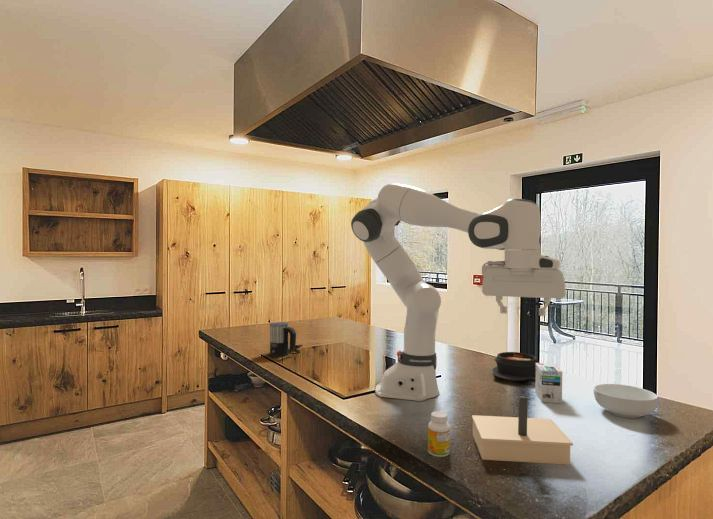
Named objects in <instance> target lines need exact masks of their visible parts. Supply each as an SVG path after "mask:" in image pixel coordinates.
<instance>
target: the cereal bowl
mask: <svg viewBox="0 0 713 519" xmlns="http://www.w3.org/2000/svg"><path fill="white" fill-rule="evenodd" d="M593 397H594V400H595V401H596V403H597V404H598V405H599V406H600V407H602V409H604V410H606V411H609V412H610V414H612V415H615V416H617V417H620V418H625V419H627V418H628V419H639V418H640V417H641V416H642V417H643V416H648V415H650V414H652V413H654V412H655V410H656V409H657V407H658V403H659V396H658V395H657V394H656V393H654V392H653V391H651V390H648V389H644V388H642V387H638V386H637V387H636V386H632V385H627V384H616V383H602V384H597V385H595V386H594V387H593Z"/></svg>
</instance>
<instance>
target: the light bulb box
mask: <svg viewBox="0 0 713 519" xmlns="http://www.w3.org/2000/svg"><path fill="white" fill-rule="evenodd" d="M534 393H535V394H536V395H537V396H536V397H538V398H539V400H540V402H542V403H552V404H563V371H562V370H561V369H560V368H559V367H557V365H556V364H555V363H543V362H542V363H541V362H539V363H536V378H535V392H534Z"/></svg>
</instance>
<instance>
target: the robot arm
mask: <svg viewBox="0 0 713 519" xmlns="http://www.w3.org/2000/svg"><path fill="white" fill-rule="evenodd" d="M541 221H542V220H541V212H540V207H539V206H538V204H537V203H536V202H534V201H533V200H529V199H525V198H524V199H523V198H510V199H507V200H506V201H505V202H504V203H503V204H501V205H500V206H498V207H496V208H494V209H492V210H489V211H487V212H486V211H485V212H484V213H481V214H479V213H476V212H473V211H470V210H466V209H462V208H460V207H457V206H455V205H453V204H451V203H449V202H447V201H445V200H444V199H442V198H441V197H438V196H436V195H435V194H433V193H431V192H428V191H426V190H424V189H422V188H419V187H415V186H411V185H407V184H401V183H387V184H386V185H384V186H383V187H382V188H381V189H380V191H379V192H378V195H377V197H376V198H374V199H373V200H372V201H370V202H368V204H367V205H366V206H365V207H363V208H362V209H361V210H359V211H358V212H356V214H355V215H354V216H353V217H352V219H351V221H350V225H351V226H350V227H351V230H352V232H353V235H354V236H355V237H356V238H357V239H358V240H360V241H361V242H363V244H364V246H365V248H366V251H367V252H368V253H369V256H370V258H371V259H372V261H373V262H374V263H375V264H376V266H377V267H378V268H379V270H380V271H381V273H382V275H384V277H385V278H386V280H387V281H388V282H389V285H391V287H392V289H393V291H394V292H395V293H396V295H397V296H398V298H399V299H400V301H401V303H402V304H403V305H404V307H405V308H406V318H405V322H404V323H405V324H404V328H403V350H400V349H398V350H397V351H396V356H397V362H396V363H395V364H393V365H392V366H390V367H388V368H387V369H386V370H385V371H384V373H383V375H382V378H381V382H379V383H377V384H376V386H375V394H376V395H377V396H378V397H380V398H381V397H382V398H390V399H400V400H408V401H418V402H422V401H425V400H427V399H431V398H436V397H437V396H439V395H440V390H439V386H438V381H437V371H436V370H437V363H438V362H437V361H438V360H437V357H438V356H437V353H436V332H437V331H436V329H437V324H438V319H439V311H440V308H441V304H442V298H441V295H440V292H439V291H438V290H437V288H436V287H435V286H433V285H431V284H428V283H427V282H426V281H425V280H424V278H423V277H422V275H421V273H420V272H419V269H418V268H417V267H416V264H415V262H414V261H413V259H412V258H411V257H410V255H409V254H408V252H407V251H406V250H405V249H404V247H403V246H402V244H401V242H400V241H399V240H398V239H397V238H396V236H395V235H394V230H393V229H394V227H396V226H399V224H400V223H401V222H403V223H405V224H407V225H412V226H417V227H425V228H427V227H429V228H437V227H438V228H447V229H448V228H450V229H455V230H458V231H461V232H465V233H467V235H468V238H469V240H470V242H471V243H472V244H473V245H475V247H479V248H481V249H485V250H486V249H487V250H489V249H490V250H498V251H504V260H496V261H493V260H488V261H487V262H485V263H483V264H482V266H481V276H482V277H483V278H482V286H481V287H482V288H481V292H482V293H483V295H484V296H487V297H488V296H489V297H495V301H496V304H497V305H498V306H499V308H500V309H499V313H500V314H503V315H504V314H507V313H508V306H506V305H504V304H503V302H502V300H503V298H504V297H509V298H510V297H514V298H515V297H516V298H538V299H539V298H540V299H543V303H545V304H544V306H543V307H539V308H538V316H542V317H545V316H546V314H547V313H546V310H547V307H548V306H549V305H550V303H551V299H563V298H564V297H566V294H567V292H566V281H565V277H564V274H563V271H561V269H560V267H561V261H560V260H559V259H557V258H553V257H550V256H548V255H543V254H542V247H541V244H540V237H541V234H542V226H541V225H542V223H541Z"/></svg>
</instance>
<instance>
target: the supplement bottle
mask: <svg viewBox="0 0 713 519" xmlns="http://www.w3.org/2000/svg"><path fill="white" fill-rule="evenodd" d="M448 419H449V418H448V414H447V412H445V411H440V410H436V411H432V412H431V414H430V421H429V422H428V425H427V453H428V454H430V455H432V456H435V457H441V458H442V457H447V456H448V455H450V453H451V451H450V450H451V425H450V422H448Z"/></svg>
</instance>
